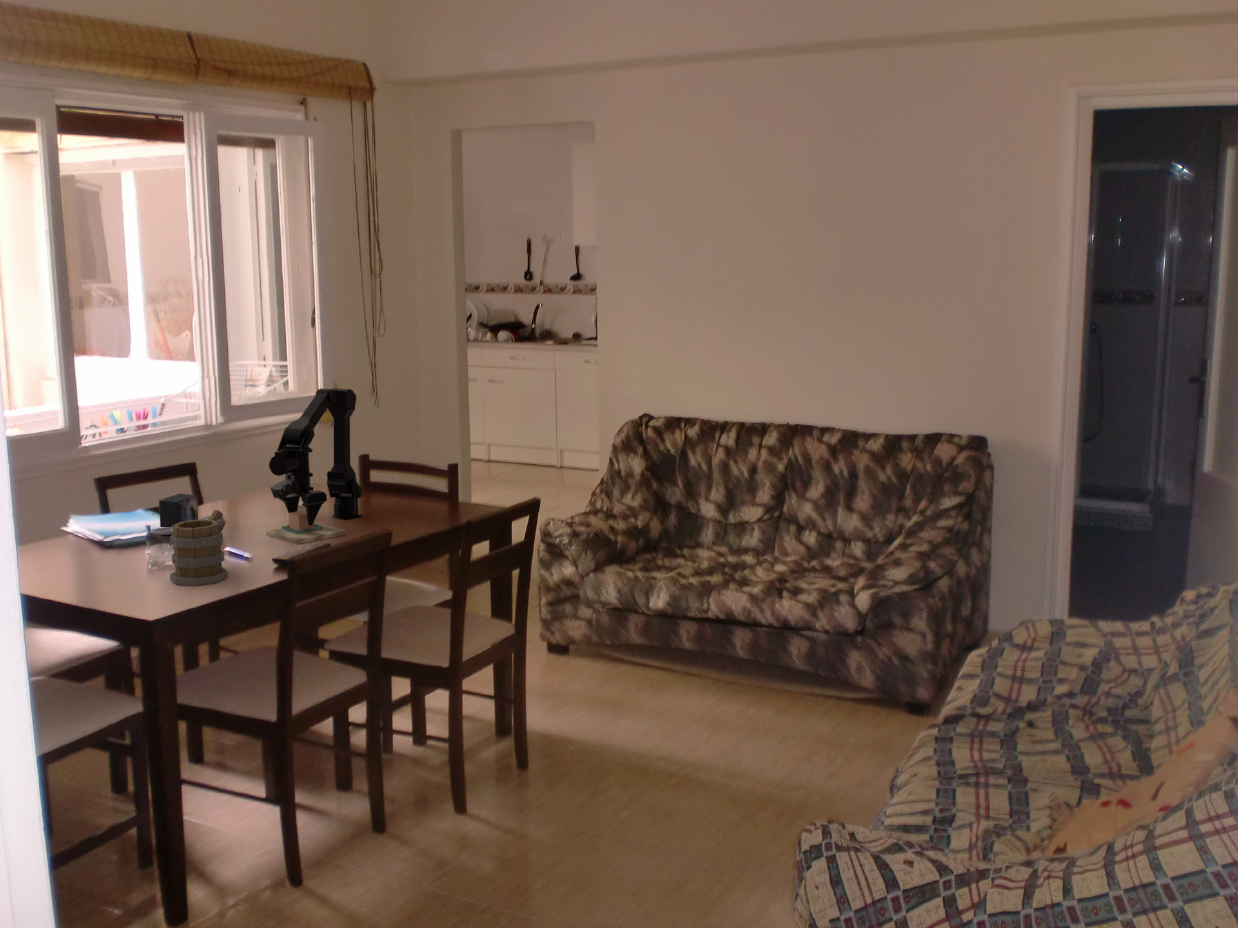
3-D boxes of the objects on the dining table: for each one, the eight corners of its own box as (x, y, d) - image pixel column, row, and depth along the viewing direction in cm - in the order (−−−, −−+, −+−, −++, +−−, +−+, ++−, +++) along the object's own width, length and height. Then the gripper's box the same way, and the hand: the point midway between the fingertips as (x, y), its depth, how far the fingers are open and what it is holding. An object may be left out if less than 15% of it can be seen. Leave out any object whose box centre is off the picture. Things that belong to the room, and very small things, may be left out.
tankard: (210, 586, 279) (206, 526, 276) (161, 584, 281) (157, 524, 278) (249, 565, 298) (246, 509, 295) (203, 564, 300) (200, 507, 298)
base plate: (314, 526, 343) (314, 518, 343) (345, 534, 333) (345, 527, 332) (266, 535, 332) (266, 527, 332) (296, 544, 321) (296, 536, 321)
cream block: (301, 517, 356) (300, 501, 356) (310, 519, 353) (309, 503, 352) (287, 519, 353) (286, 503, 352) (296, 522, 349) (295, 505, 349)
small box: (180, 537, 330) (177, 501, 328) (159, 536, 331) (157, 500, 330) (200, 528, 340) (198, 494, 339) (180, 527, 342) (178, 493, 340)
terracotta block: (304, 527, 337) (303, 510, 336) (314, 529, 334) (313, 512, 333) (289, 529, 333) (288, 512, 332) (299, 532, 330) (298, 515, 329)
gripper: (256, 469, 331) (259, 522, 334) (292, 477, 318) (294, 532, 321) (291, 464, 339) (293, 516, 342) (326, 472, 326) (329, 526, 329)
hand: (301, 522), depth 333 cm, fingers open, 9 cm apart
